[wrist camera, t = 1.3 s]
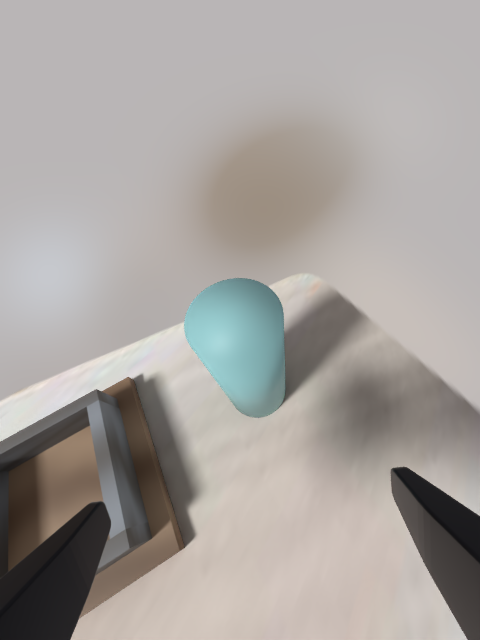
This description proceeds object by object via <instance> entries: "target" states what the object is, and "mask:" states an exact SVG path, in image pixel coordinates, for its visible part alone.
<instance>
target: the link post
mask: <svg viewBox="0 0 480 640" xmlns="http://www.w3.org/2000/svg"><path fill="white" fill-rule="evenodd" d="M184 329H185V335H186V338H187V341H188V343H189V344H190V346H191V348H192V349H193V350H194V352H195V353H196V354H197V356H198V357H199V358H200V360H201V361H202V362H203V364H204V365H205V366H206V368H207V369H208V371H209V372H210V373H211V375H212V376H213V377H214V379H215V380H216V381H217V383H218V384H219V385H220V387H221V388H222V390H223V391H224V392H225V394H226V395H227V396H228V398H229V399H230V400H231V402H232V403H233V404H234V406H235V407H236V408H237V409H238V410H239V411H240V412H241V413H243V414H245V415H247V416H249V417H256V418H259V417H265V416H268V415H270V414H272V413H273V412H275V411H276V410H277V409H278V408H279V407H280V405H281V404H282V402H283V400H284V397H285V352H284V314H283V308H282V305H281V302H280V300H279V298H278V297H277V295H276V294H275V293H274V292H273V291H272V290H271V289H270V288H269V287H268V286H266V285H264V284H262V283H260V282H258V281H255V280H251V279H245V278H234V279H227V280H223V281H220V282H217V283H215V284H213V285H211V286H209V287H208V288H206V289H205V290H203V291H202V292H201V293H200V294H199V295H198V296H197V297H196V298H195V299H194V300H193V302H192V303H191V305H190V307H189V308H188V311H187V313H186V317H185V323H184Z"/></svg>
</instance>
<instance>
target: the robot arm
mask: <svg viewBox="0 0 480 640" xmlns="http://www.w3.org/2000/svg"><path fill="white" fill-rule="evenodd" d="M391 487H392V494H393V497H394V500H395V502H396V504H397V506H398V509H399V511H400V513H401V515H402V517H403V519H404V521H405V523H406V526H407V528H408V530H409V532H410V534H411V536H412V538H413V541H414V543H415V545H416V547H417V549H418V551H419V553H420V555H421V557H422V559H423V562H424V564H425V565H426V567H427V569H428V571H429V573H430V575H431V576H432V578H433V580H434V582H435V583H436V585H437V587H438V589H439V590H440V592H441V594H442V596H443V597H444V599H445V601H446V603H447V604H448V606H449V608H450V610H451V611H452V613H453V615H454V617H455V618H456V620H457V622H458V624H459V625H460V627H461V629H462V631H463V632H464V634H465V636H466V638H467V639H468V640H480V516H479V515H477V514H476V513H474V512H473V511H471V510H470V509H468V508H467V507H465V506H464V505H462V504H461V503H459V502H458V501H456V500H455V499H453V498H452V497H450V496H449V495H447V494H446V493H444V492H443V491H441V490H440V489H439V488H437V487H436V486H434V485H433V484H431V483H430V482H428V481H427V480H425V479H424V478H422V477H421V476H419V475H418V474H416V473H415V472H413V471H412V470H410V469H409V468H407V467H397V468H392V469H391ZM110 529H111V519H110V516H109V513H108V511H107V508H106V505H105V503H104V502H103V501H98V502H91V503H89V504H88V505H86V506H85V507H84V508H83V509H82V510H80V511H79V512H78V513H77V514H76V515H75V516H73V517H72V518H71V519H70V520H69V521H68V522H66V523H65V524H64V525H63V526H62V527H60V528H59V529H58V530H57V531H56V532H55V533H53V534H52V535H51V536H50V537H49V538H47V539H46V540H45V541H44V542H43V543H42V544H40V545H39V546H38V547H37V548H36V549H34V550H33V551H32V552H31V553H30V554H29V555H27V556H26V557H25V558H24V559H23V560H22V561H20V562H19V563H18V564H17V565H16V566H14V567H13V568H12V569H11V570H10V571H9V572H7V573H6V574H5V575H4V576H3V577H1V578H0V640H70V639H71V637H72V634H73V632H74V629H75V627H76V624H77V622H78V620H79V617H80V615H81V612H82V610H83V607H84V605H85V602H86V600H87V597H88V595H89V592H90V589H91V587H92V584H93V581H94V578H95V575H96V572H97V569H98V566H99V563H100V560H101V557H102V554H103V551H104V548H105V545H106V542H107V539H108V536H109V533H110Z"/></svg>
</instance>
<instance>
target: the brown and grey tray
mask: <svg viewBox="0 0 480 640" xmlns="http://www.w3.org/2000/svg"><path fill="white" fill-rule="evenodd" d="M98 501H103V502H104V503H105V505H106V508H107V511H108V513H109V516H110V519H111V529H110V533H109V536H108V539H107V542H106V545H105V548H104V551H103V554H102V557H101V560H100V563H99V566H98V569H97V572H96V575H95V578H94V581H93V584H92V587H91V589H90V592H89V595H88V597H87V600H86V602H85V605H84V607H83V610H82V612H81V615H80V617H79V618H81V617H82V616H84V615H85V614H87V613H88V612H90V611H91V610H93V609H94V608H95V607H97V606H98V605H100V604H101V603H103V602H104V601H106V600H107V599H109V598H110V597H112V596H113V595H115V594H116V593H118V592H119V591H121V590H122V589H124V588H125V587H127V586H128V585H130V584H131V583H133V582H134V581H136V580H137V579H139V578H140V577H142V576H143V575H145V574H146V573H148V572H149V571H151V570H152V569H154V568H155V567H157V566H158V565H160V564H161V563H163V562H164V561H166V560H167V559H169V558H170V557H172V556H173V555H175V554H176V553H178V552H179V551H181V550H182V549H184V548H185V547H184V543H183V540H182V537H181V534H180V530H179V527H178V524H177V520H176V517H175V514H174V511H173V507H172V504H171V501H170V497H169V494H168V491H167V488H166V484H165V481H164V478H163V475H162V471H161V468H160V465H159V461H158V458H157V455H156V452H155V448H154V445H153V442H152V439H151V435H150V432H149V429H148V425H147V422H146V419H145V416H144V412H143V409H142V406H141V402H140V399H139V396H138V393H137V389H136V386H135V383H134V380H133V379H131V378H129V377H127V378H125V379H124V380H122V381H120V382H118V383H116V384H115V385H113V386H111V387H109V388H107V389H105V390H104V391H102V392H101V391H99V390H97V389H96V390H94V391H92V392H90V393H89V394H87V395H85V396H83V397H81V398H79V399H78V400H76V401H74V402H72V403H70V404H68V405H67V406H65V407H63V408H61V409H59V410H58V411H56V412H54V413H52V414H50V415H48V416H47V417H45V418H43V419H41V420H39V421H37V422H36V423H34V424H32V425H30V426H28V427H27V428H25V429H23V430H21V431H19V432H17V433H16V434H14V435H12V436H10V437H8V438H6V439H5V440H3V441H1V442H0V578H1V577H3V576H4V575H5V574H6V573H7V572H9V571H10V570H11V569H12V568H13V567H14V566H16V565H17V564H18V563H19V562H20V561H22V560H23V559H24V558H25V557H26V556H27V555H29V554H30V553H31V552H32V551H33V550H34V549H36V548H37V547H38V546H39V545H40V544H42V543H43V542H44V541H45V540H46V539H47V538H49V537H50V536H51V535H52V534H53V533H55V532H56V531H57V530H58V529H59V528H60V527H62V526H63V525H64V524H65V523H66V522H68V521H69V520H70V519H71V518H72V517H73V516H75V515H76V514H77V513H78V512H79V511H80V510H82V509H83V508H84V507H85V506H86V505H88V504H89V503H91V502H98Z"/></svg>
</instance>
